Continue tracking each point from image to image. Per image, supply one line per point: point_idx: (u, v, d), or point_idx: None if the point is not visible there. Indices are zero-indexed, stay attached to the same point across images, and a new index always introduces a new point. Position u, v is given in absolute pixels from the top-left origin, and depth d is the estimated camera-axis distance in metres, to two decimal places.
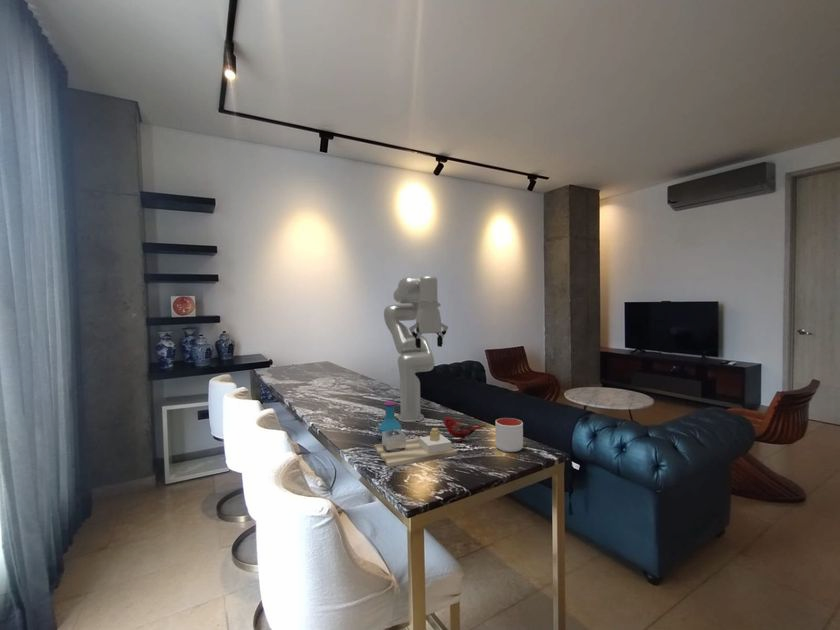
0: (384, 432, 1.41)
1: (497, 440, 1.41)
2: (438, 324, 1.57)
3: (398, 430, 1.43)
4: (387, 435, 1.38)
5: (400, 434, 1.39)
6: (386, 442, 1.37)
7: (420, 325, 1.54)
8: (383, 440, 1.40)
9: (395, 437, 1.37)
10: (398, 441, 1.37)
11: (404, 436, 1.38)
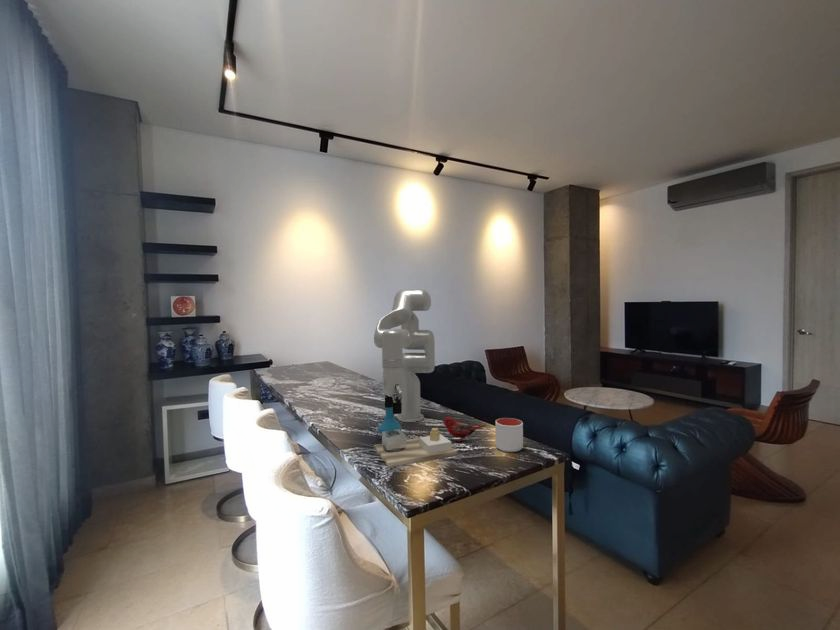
0: (384, 432, 1.41)
1: (497, 440, 1.41)
2: None
3: (398, 430, 1.43)
4: (387, 435, 1.38)
5: (400, 434, 1.39)
6: (386, 442, 1.37)
7: (401, 387, 1.36)
8: (383, 440, 1.40)
9: (395, 437, 1.37)
10: (398, 441, 1.37)
11: (404, 436, 1.38)
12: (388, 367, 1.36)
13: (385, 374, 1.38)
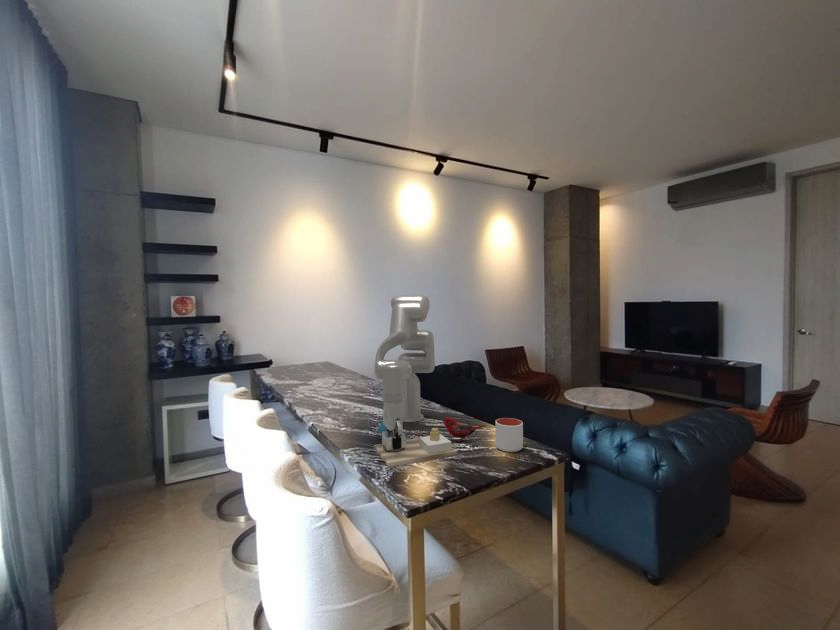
0: (384, 432, 1.41)
1: (497, 440, 1.41)
2: None
3: None
4: (387, 435, 1.38)
5: None
6: (386, 442, 1.37)
7: (402, 421, 1.37)
8: (383, 440, 1.40)
9: None
10: None
11: (404, 436, 1.38)
12: (389, 401, 1.36)
13: (386, 407, 1.39)
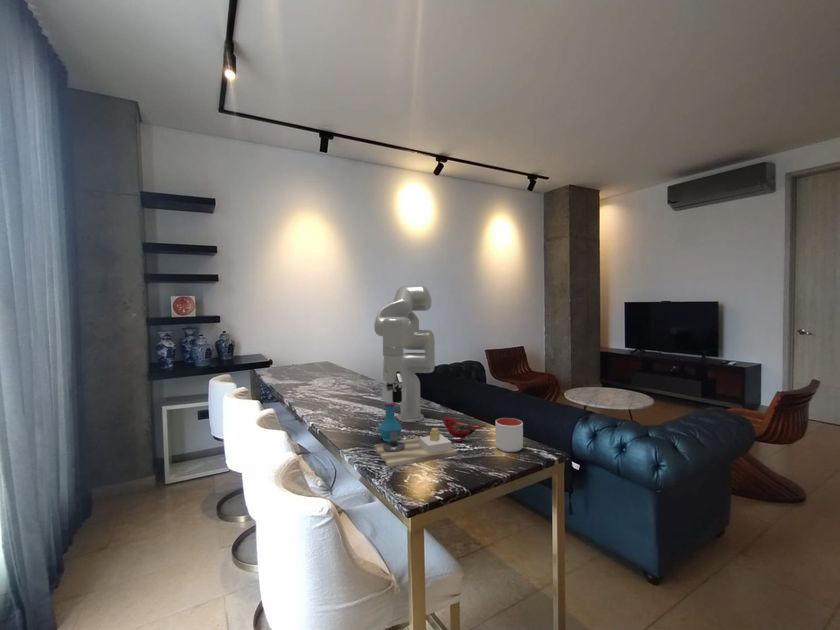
0: (384, 387, 1.41)
1: (497, 440, 1.41)
2: None
3: None
4: (387, 389, 1.37)
5: None
6: (386, 396, 1.36)
7: (402, 374, 1.36)
8: (383, 395, 1.40)
9: None
10: None
11: (404, 390, 1.38)
12: (389, 355, 1.36)
13: (386, 362, 1.38)
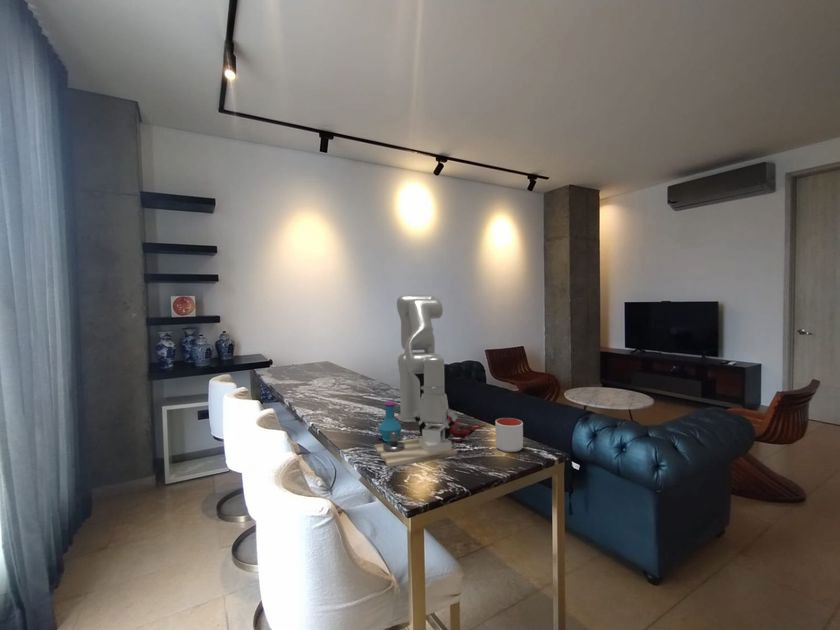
0: (426, 429, 1.38)
1: (497, 440, 1.41)
2: None
3: (431, 424, 1.43)
4: (435, 430, 1.37)
5: (442, 426, 1.41)
6: (437, 437, 1.36)
7: None
8: (427, 437, 1.37)
9: (443, 430, 1.38)
10: (444, 433, 1.39)
11: None
12: (439, 394, 1.36)
13: (432, 401, 1.37)
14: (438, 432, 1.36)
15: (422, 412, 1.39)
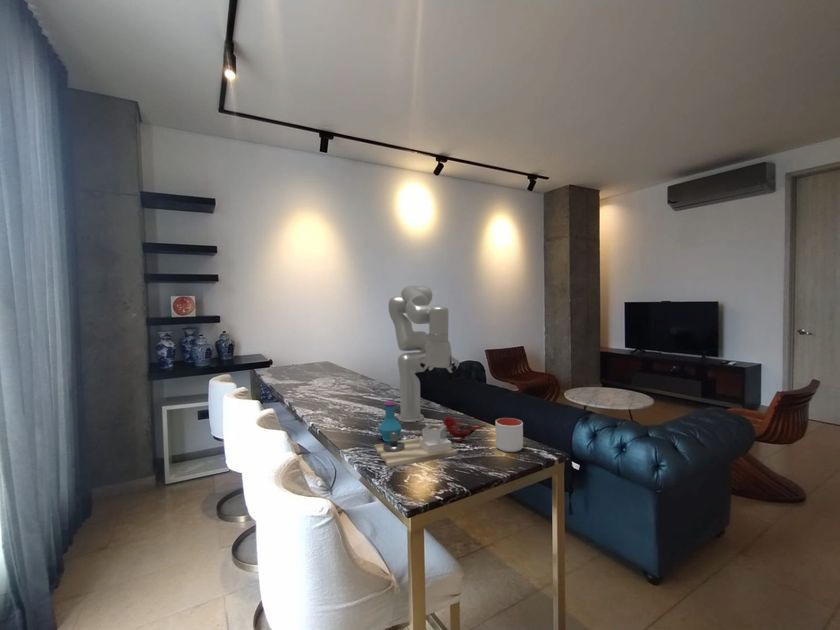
0: (426, 429, 1.38)
1: (497, 440, 1.41)
2: None
3: (431, 424, 1.43)
4: (435, 430, 1.37)
5: (442, 426, 1.41)
6: (437, 437, 1.36)
7: None
8: (427, 437, 1.37)
9: (443, 430, 1.38)
10: (444, 433, 1.39)
11: (446, 427, 1.41)
12: (443, 341, 1.45)
13: (436, 348, 1.46)
14: (438, 432, 1.36)
15: (427, 358, 1.48)
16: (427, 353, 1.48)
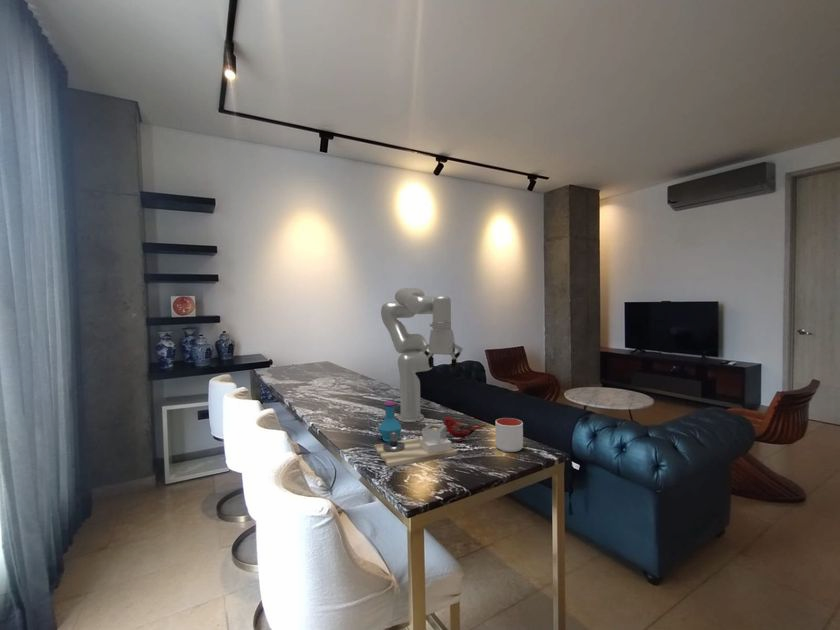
0: (426, 429, 1.38)
1: (497, 440, 1.41)
2: None
3: (431, 424, 1.43)
4: (435, 430, 1.37)
5: (442, 426, 1.41)
6: (437, 437, 1.36)
7: None
8: (427, 437, 1.37)
9: (443, 430, 1.38)
10: (444, 433, 1.39)
11: (446, 427, 1.41)
12: (446, 328, 1.52)
13: (440, 335, 1.53)
14: (438, 432, 1.36)
15: (431, 346, 1.55)
16: (431, 341, 1.55)
